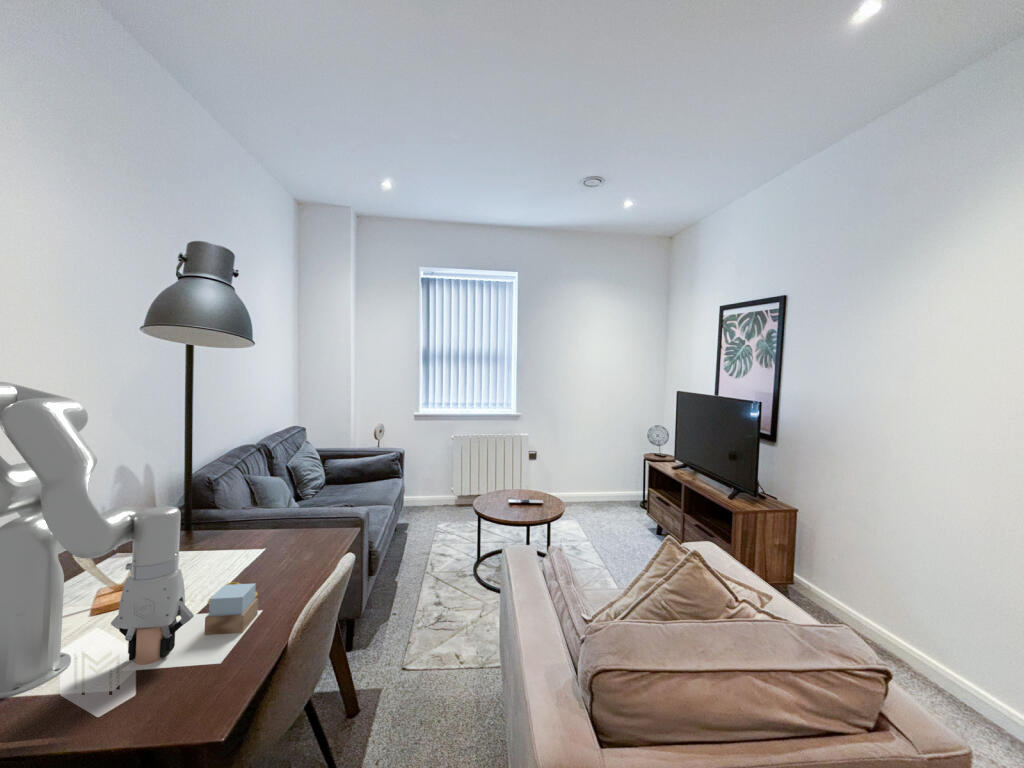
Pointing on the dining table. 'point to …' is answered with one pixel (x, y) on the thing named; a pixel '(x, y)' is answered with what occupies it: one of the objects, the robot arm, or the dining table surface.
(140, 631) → the cylinder
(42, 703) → the dining table surface
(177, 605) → the robot arm
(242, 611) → the tower top
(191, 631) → the mat
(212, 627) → the tower base
